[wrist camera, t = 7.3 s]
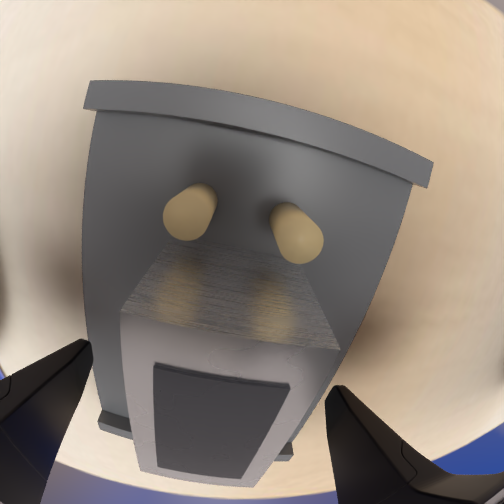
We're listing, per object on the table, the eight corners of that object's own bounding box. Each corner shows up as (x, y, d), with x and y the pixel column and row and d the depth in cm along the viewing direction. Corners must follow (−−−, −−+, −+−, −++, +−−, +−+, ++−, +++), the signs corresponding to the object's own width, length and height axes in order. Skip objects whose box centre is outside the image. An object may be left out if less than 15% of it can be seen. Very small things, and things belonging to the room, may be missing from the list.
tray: (405, 158, 10) (460, 166, 6) (285, 438, 16) (291, 479, 12) (114, 90, 8) (66, 71, 5) (108, 407, 14) (93, 446, 11)
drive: (297, 260, 10) (341, 352, 5) (249, 402, 13) (253, 489, 8) (174, 235, 10) (118, 313, 5) (161, 387, 12) (139, 472, 7)
